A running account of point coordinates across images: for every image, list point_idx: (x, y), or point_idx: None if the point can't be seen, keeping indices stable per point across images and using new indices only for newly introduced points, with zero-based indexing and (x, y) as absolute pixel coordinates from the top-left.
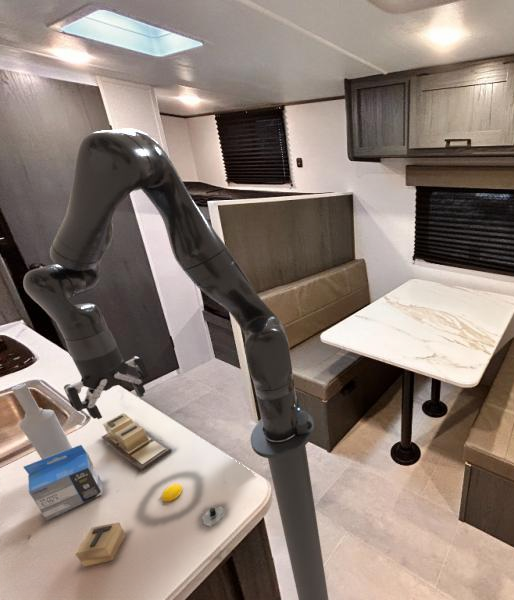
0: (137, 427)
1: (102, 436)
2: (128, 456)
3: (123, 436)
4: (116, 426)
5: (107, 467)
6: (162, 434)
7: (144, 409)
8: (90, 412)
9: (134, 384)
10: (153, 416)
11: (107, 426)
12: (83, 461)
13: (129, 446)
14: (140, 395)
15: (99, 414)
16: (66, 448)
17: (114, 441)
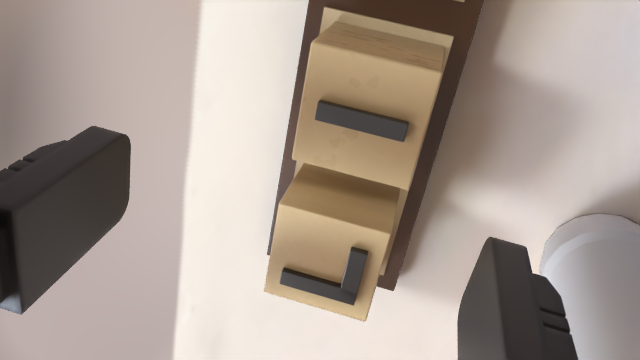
0: (321, 92)
1: (390, 288)
2: (470, 17)
3: (412, 107)
4: (357, 232)
5: (544, 86)
6: (268, 3)
7: (186, 264)
8: (571, 352)
9: (11, 265)
10: (198, 180)
11: (373, 281)
12: None
13: (429, 51)
14: (111, 138)
15: (507, 267)
16: (628, 320)
17: (402, 200)
